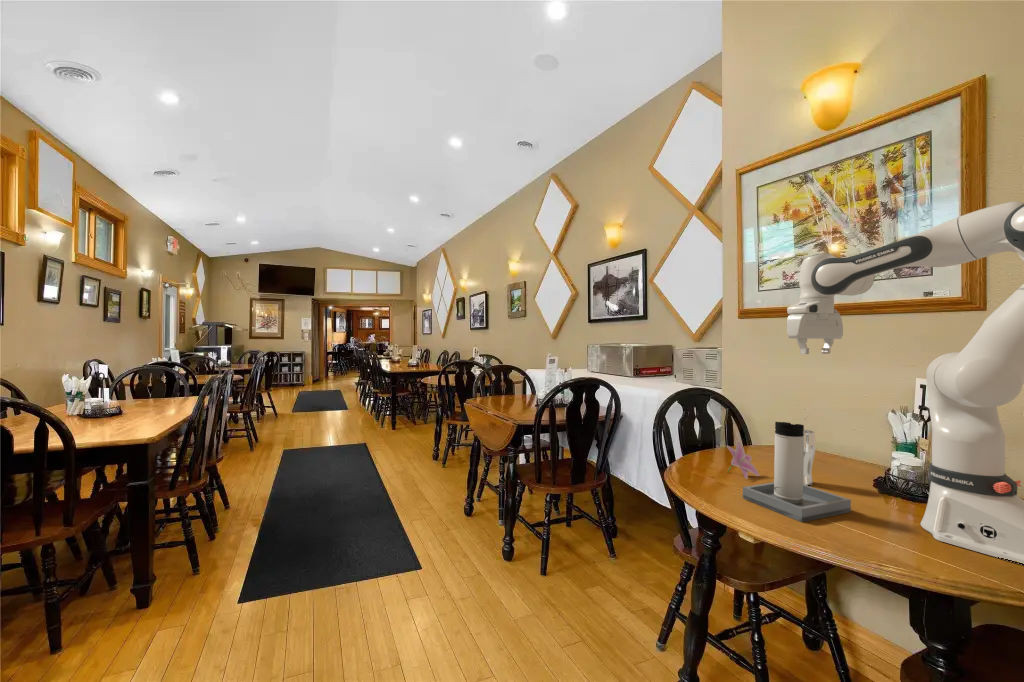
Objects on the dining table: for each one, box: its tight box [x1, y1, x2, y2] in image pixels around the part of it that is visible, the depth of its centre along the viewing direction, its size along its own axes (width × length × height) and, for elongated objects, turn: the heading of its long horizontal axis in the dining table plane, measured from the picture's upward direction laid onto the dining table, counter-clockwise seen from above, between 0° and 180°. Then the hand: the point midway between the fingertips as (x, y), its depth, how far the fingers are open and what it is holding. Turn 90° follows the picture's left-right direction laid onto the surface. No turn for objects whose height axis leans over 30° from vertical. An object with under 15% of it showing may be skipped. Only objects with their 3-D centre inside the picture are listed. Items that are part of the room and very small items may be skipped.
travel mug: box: [773, 421, 805, 504], centre depth 114 cm, size 6×7×20 cm
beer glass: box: [803, 429, 816, 486], centre depth 132 cm, size 7×7×15 cm
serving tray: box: [742, 481, 852, 523], centre depth 114 cm, size 16×17×3 cm
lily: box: [725, 439, 761, 480], centre depth 139 cm, size 12×12×10 cm
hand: (815, 353), depth 138 cm, fingers open, 8 cm apart
